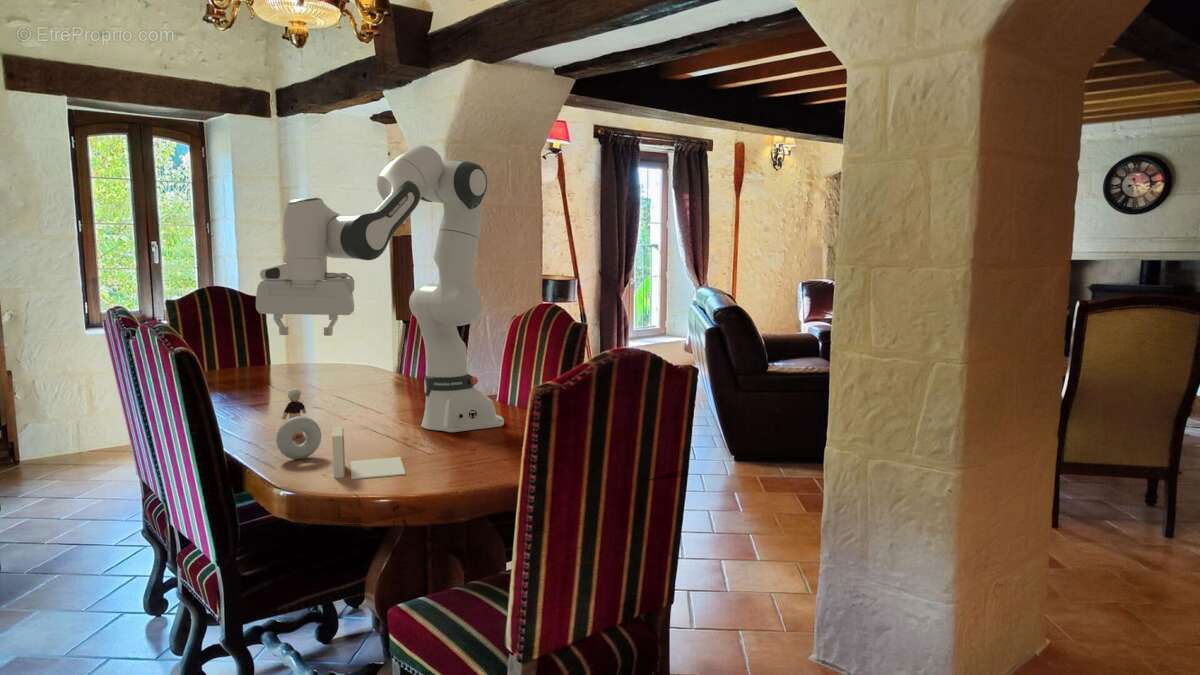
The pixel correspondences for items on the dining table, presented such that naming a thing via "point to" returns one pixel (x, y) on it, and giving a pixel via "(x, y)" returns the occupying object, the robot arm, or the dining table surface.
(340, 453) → the tile
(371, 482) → the dining table surface
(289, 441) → the donut
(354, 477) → the placemat
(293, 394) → the grandmother figurine
